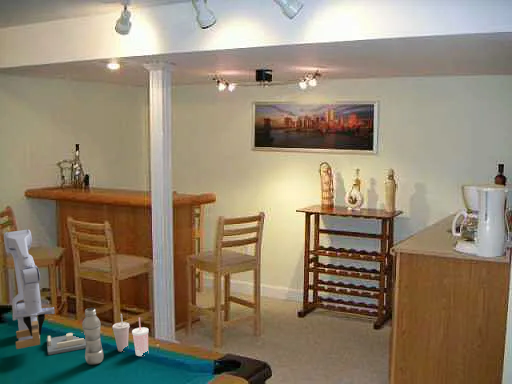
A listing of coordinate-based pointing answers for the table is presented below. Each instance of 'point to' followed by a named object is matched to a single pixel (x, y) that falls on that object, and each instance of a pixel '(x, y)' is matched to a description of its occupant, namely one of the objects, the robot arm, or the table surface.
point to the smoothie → (121, 334)
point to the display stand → (65, 344)
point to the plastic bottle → (92, 337)
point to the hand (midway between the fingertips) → (36, 334)
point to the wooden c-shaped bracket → (25, 333)
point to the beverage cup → (140, 339)
